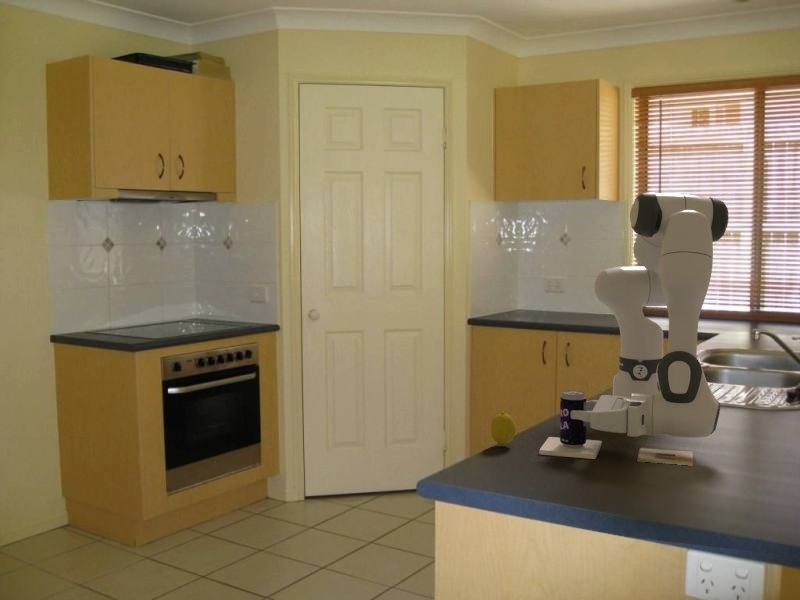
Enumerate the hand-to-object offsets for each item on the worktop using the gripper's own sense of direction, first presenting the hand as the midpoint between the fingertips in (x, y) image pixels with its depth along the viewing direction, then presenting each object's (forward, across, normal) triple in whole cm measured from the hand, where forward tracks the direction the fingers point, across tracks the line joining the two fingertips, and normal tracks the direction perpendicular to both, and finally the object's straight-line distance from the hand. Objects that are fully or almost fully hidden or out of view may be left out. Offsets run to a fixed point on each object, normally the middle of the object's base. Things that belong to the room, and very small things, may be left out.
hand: (574, 409), depth 180 cm
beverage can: (0, 0, +8) cm, 8 cm away
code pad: (-19, 0, +9) cm, 21 cm away
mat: (+1, 0, +9) cm, 9 cm away
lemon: (+16, +2, +9) cm, 18 cm away
